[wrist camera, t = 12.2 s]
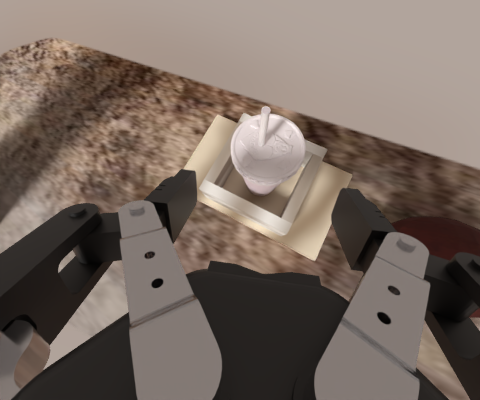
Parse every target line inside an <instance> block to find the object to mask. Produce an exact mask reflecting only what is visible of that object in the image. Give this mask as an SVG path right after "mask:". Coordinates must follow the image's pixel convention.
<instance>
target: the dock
mask: <svg viewBox="0 0 480 400" xmlns="http://www.w3.org/2000/svg"><path fill="white" fill-rule="evenodd" d="M250 117H252V116H250V115H248V114H245V113H243V115H242V117H241V118H240V120H239V122H238V123H236V122H233V121H231V120H229V119H227V118H224V117H222V116H220V115H217V116H216V118H215V119H214V121H213V123H212V124H211V126H210V127H209V129H208V131H207V132H206V134H205V135H204V137H203V139H202V140H201V142H200V143H199V145H198V147H197V148H196V150H195V151H194V153H193V155H192V156H191V158H190V159H189V161H188V163H187V164H186V166H185V167H184V170H193V171H195V172H196V180H197V200H199V201H200V202H202V203H204V204H206V205H208V206H210V207H212V208H214V209H216V210H218V211H219V212H221V213H223V214H225V215H227V216H229V217H231V218H233V219H235V220H237V221H239V222H240V223H242V224H244V225H246V226H248V227H250V228H252V229H254V230H256V231H258V232H259V233H261V234H263V235H265V236H267V237H269V238H271V239H273V240H275V241H277V242H278V243H280V244H282V245H284V246H286V247H288V248H290V249H292V250H294V251H296V252H297V253H299V254H301V255H303V256H305V257H307V258H309V259H311V260H314V261H315V260H316V258H317V256H318V253H319V251H320V249H321V246H322V244H323V242H324V239H325V237H326V235H327V233H328V230H329V228H330V226H331V223H332V222H331V214H332V211H333V208H334V205H335V203H336V200H337V197H338V195H339V192H340V190H341V189H342V188H347V187H348V184H349V182H350V180H351V178H352V174H350V173H348V172H345V171H343V170H341V169H339V168H336V167H334V166H332V165H330V164H328V163H325V162H323V161H322V160H323V158H324V156H325V154H326V152H327V149H326V148H323V147H321V146H319V145H317V144H314V143H312V142H310V141H307V140H305V145H306V152H305V157H304V160H303V162H302V165H301V167H300V168H299V170H298V171H297V173H296V174H295V175H294V176H292V177H291V178H290V179H289V180H287V181H285V182H283V183H281V184H279V185H278V186H277V187H276V188H275V189H274V190H273V191H272V192H271V193H269V194H268V195H265V196H257V195H254V194H252V193H251V192H250V191H249V189H248V187H247V185H246V183H245V181H244V178H243V176H242V175H241V174H240V173H239V172H238V171H237V170H236V168H235V166H234V164H233V162H232V157H231V140H232V137H233V134H234V132H235V131H236V129H237V128H238V127H239V125H240V124H242V123H243V122H244V121H245V120H247V119H249V118H250Z"/></svg>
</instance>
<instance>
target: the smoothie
mask: <svg viewBox="0 0 480 400" xmlns="http://www.w3.org/2000/svg"><path fill="white" fill-rule="evenodd" d="M305 152H306V145H305V139H304V136H303V134H302V132H301V131H300V129H299V128H298V127H297V126H296V125H295V124H294V123H293V122H292V121H290V120H289V119H287V118H285V117H283V116H280V115H276V114H270V108H269V107H263V108H262V112H261V114H259V115H256V116H253V117H250V118H249V119H247V120H245V121H244V122H243V123H242V124H240V125H239V127H238V128H237V129H236V131H235V132H234V134H233V137H232V140H231V157H232V162H233V164H234V166H235V168H236V170H237V171H238V172H239V173H240V174H241V175H242V176H243V178H244V181H245V183H246V185H247V187H248V189H249V191H250V192H251V193H252V194H254V195H257V196H265V195H268V194H269V193H271V192H272V191H273V190H274V189H275V188H276V187H277V186H278V185H279V184H281V183H283V182H285V181H287V180H289V179H290V178H291V177H292V176H294V175H295V174H296V173H297V171H298V170H299V168H300V167H301V165H302V162H303V160H304V157H305Z"/></svg>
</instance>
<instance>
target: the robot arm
mask: <svg viewBox="0 0 480 400" xmlns="http://www.w3.org/2000/svg"><path fill="white" fill-rule="evenodd" d="M196 202H197V180H196V172H195V171H193V170H184V169H181V170H180V171H179V172H178V173H177V174H176V175H175V176H174V177H169V178H167V179H165V180H164V181H162V182H161V183H160V184H159V186H157V187H156V188H155V190H153V191H152V192H151V193H150V194H149V195H148V196H147V197H146V198H145V199H144V200H140V201H133V202H130V203H127V204H125V205H124V206H122V207H121V208H120V209H119V211H118V212H117V213H103V214H100V212H99V209H98V207H97V206H96V205H95V204H90V203H83V204H77V205H73V206H70V207H68V208H65V209H63V210H62V211H60V212H59V213H58V214H56V215H55V216H53V217H52V218H50V219H49V220H48V221H46V222H45V223H43V224H42V225H41V226H39V227H38V228H36V229H35V230H34V231H32V232H31V233H29V234H28V235H26V236H25V237H24V238H22V239H21V240H19V241H18V242H17V243H15V244H14V245H12V246H11V247H9V248H8V249H7V250H5V251H4V252H2V253H1V254H0V400H449V399H448V398H447V397H446V396H445V395H444V394H443V393H442V392H441V391H440V390H438V389H437V388H436V387H435V386H434V385H433V384H432V383H431V382H430V381H429V380H428V379H427V378H426V377H425V376H424V375H423V374H422V373H421V372H420V371H419V370H418V369H417V368H416V363H417V357H418V352H419V346H420V341H421V335H422V329H423V324H424V320H425V321H426V323H427V325H428V327H429V328H430V330H431V332H432V334H433V335H434V337H435V339H436V341H437V342H438V344H439V346H440V347H441V349H442V351H443V353H444V354H445V356H446V358H447V360H448V361H449V363H450V365H451V367H452V368H453V370H454V372H455V374H456V375H457V377H458V379H459V381H460V382H461V384H462V386H463V387H464V389H465V391H466V393H467V394H468V396H469V398H470V400H480V331H479V330H478V328H477V327H476V326H475V324H474V323H473V322H472V321H471V319H470V318H469V316H471V315H472V314H473V313H474V312H475V311H477V310H478V309H479V308H480V257H479V256H476V255H474V254H470V253H464V252H460V253H457V254H456V255H455V256H454V257H453V258H452V259H451V260H450V261H449V260H446V259H443V258H440V257H437V256H434V255H430V254H429V251H428V249H427V248H426V246H425V245H424V244H423V243H421V242H420V241H418V240H417V239H415V238H413V237H411V236H409V235H406V234H403V233H398V232H397V231H396V230H395V228H394V227H393V226H392V225H391V223H390V222H389V221H388V220H387V219H386V218H385V216H384V215H383V214H382V213H381V211H380V210H379V209H378V208H377V206H376V205H374V204H373V203H372V202H370V201H369V200H367V199H365V197H364V196H363V195H362V193H361V192H360V191H359V190H358V189H350V188H342V189H341V190H340V192H339V195H338V197H337V200H336V203H335V205H334V208H333V211H332V214H331V222H332V225H333V227H334V229H335V232H336V234H337V237H338V239H339V241H340V244H341V246H342V248H343V251H344V253H345V256H346V258H347V260H348V263H349V265H350V267H351V270H357V271H363V273H364V274H363V276H362V278H361V280H360V281H359V283H358V285H357V287H356V289H355V290H354V292H353V294H352V296H351V298H350V299H349V301H347V300H346V299H344V298H343V297H342V296H340V295H339V294H337V293H335V292H334V291H332V290H330V289H328V288H326V287H323V286H321V283H320V279H319V276H314V275H307V274H300V273H293V272H288V273H275V274H261V273H259V272H256V271H253V270H250V269H248V268H245V267H242V266H240V265H237V264H231V263H224V262H217V261H210V264H209V267H208V269H202V270H197V271H194V272H191V273H188V274H186V275H185V272H184V270H183V267H182V265H181V263H180V260H179V258H178V255H177V253H176V251H175V248H174V246H173V244H174V242H175V240H176V239H177V237H178V235H179V233H180V232H181V230H182V228H183V226H184V225H185V223H186V221H187V219H188V217H189V216H190V214H191V212H192V210H193V209H194V207H195V205H196ZM72 250H73V251H74V253H75V255H76V256H75V257H74V258H73V259H72V260H71V261H70V262H69V263H68V264H67V265H66V266H65V267H64V268H63V269H62V270H61V271H60V272H59V273H58V267H59V264H60V262H61V261H62V259H63V258H64V257H65V256H66V255H67V254H68V253H70V252H71V251H72ZM117 260H122V263H123V271H124V278H125V286H126V294H127V302H128V310H129V312H128V313H127V314H125V315H124V316H122V317H121V318H119V319H118V320H116V321H115V322H113V323H112V324H110V325H109V326H108V327H106V328H105V329H103V330H102V331H100V332H99V333H97V334H96V335H94V336H93V337H91V338H90V339H88V340H87V341H86V342H84V343H83V344H81V345H80V346H78V347H77V348H75V349H74V350H72V351H71V352H69V353H68V354H67V355H65V356H64V357H62V358H61V359H59V360H58V361H56V362H55V363H53V364H52V365H50V366H49V367H47V368H46V369H45V370H43V368H44V367H45V365H46V363H47V361H48V359H49V355H50V344H51V343H52V342H53V340H54V339H55V338H56V337H57V335H58V334H59V333H60V331H61V330H62V329H63V327H64V326H65V325H66V323H67V322H68V321H69V319H70V318H71V317H72V315H73V314H74V313H75V311H76V310H77V309H78V307H79V306H80V305H81V303H82V302H83V301H84V299H85V298H86V297H87V295H88V294H89V293H90V292H91V290H92V289H93V288H94V286H95V285H96V284H97V282H98V281H99V280H100V278H101V277H102V276H103V274H104V273H105V272H106V270H107V269H108V268H109V266H110V265H111V264H112V262H113V261H117Z"/></svg>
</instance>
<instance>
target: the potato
mask: <svg viewBox="0 0 480 400" xmlns="http://www.w3.org/2000/svg"><path fill="white" fill-rule="evenodd" d="M391 225H392V226H393V227H394V228H395V230H396V231H397V232H398V233H403V234H406V235H409V236H411V237H413V238H415V239H417V240H418V241H420V242H421V243H423V244H424V245H425V246H426V248H427V249H428V251H429V254H430V255H434V256H437V257H440V258H443V259H446V260H449V261H450V260H451V259H452V258H453V257H454V256H455V255H456V254H457V253H460V252H464V253H470V254H474V255H476V256H479V257H480V230H478V229H476V228H474V227H471V226H469V225H467V224H464V223H462V222H460V221H457V220H452V219H447V218H442V217H427V216H425V217H410V218H406V219H403V220H400V221H397V222H394V223H392V224H391ZM469 317H478V318H480V308H479V309H478V310H477V311H475V312H474V313H473V314H472V315H471V316H469Z"/></svg>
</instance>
